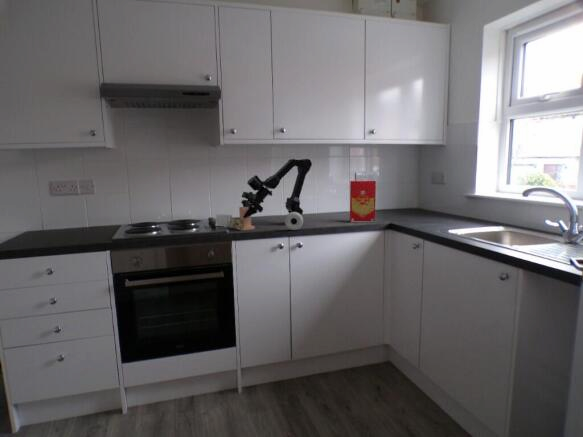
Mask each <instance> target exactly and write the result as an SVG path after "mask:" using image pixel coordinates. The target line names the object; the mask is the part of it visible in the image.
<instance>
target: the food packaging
mask: <svg viewBox="0 0 583 437" xmlns="http://www.w3.org/2000/svg"><path fill="white" fill-rule="evenodd" d="M376 181H377V180H350V183H349V222H350V221H375V222H376V192H377V191H376V188H377V182H376Z"/></svg>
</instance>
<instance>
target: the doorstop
mask: <svg viewBox="0 0 583 437" xmlns="http://www.w3.org/2000/svg"><path fill="white" fill-rule="evenodd" d="M248 208H249V207H243V206H239V210H238V211H239V220H241V221H243V230H242V231H249V230H255V229H256V228H255V227H256V226H255V225H252V215H251V216H249V217H247V218H243V216H244V215H245V213H246V212H247V210H248Z"/></svg>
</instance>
